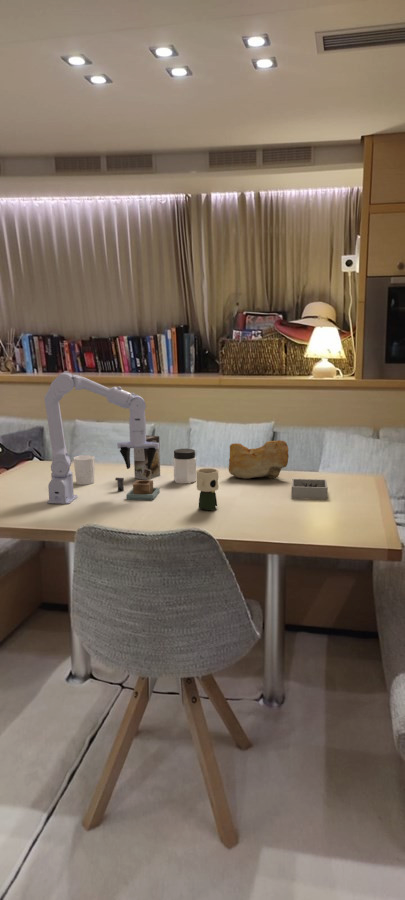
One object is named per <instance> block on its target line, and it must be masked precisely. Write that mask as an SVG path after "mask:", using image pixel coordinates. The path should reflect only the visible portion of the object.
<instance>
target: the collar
mask: <svg viewBox="0 0 405 900" xmlns="http://www.w3.org/2000/svg"><path fill="white" fill-rule="evenodd" d="M132 488H133V494H152V493H153V488H154V480H151V479H148V480H143V479H137V480H136V481H135V482H133V483H132Z"/></svg>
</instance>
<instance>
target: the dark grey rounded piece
mask: <svg viewBox="0 0 405 900" xmlns="http://www.w3.org/2000/svg"><path fill="white" fill-rule="evenodd" d="M114 481H116V482H117V492H120V493H121V492H125V491H124V490H125V489H124V488H125V486H124V485H125V484H124V477H115V480H114Z"/></svg>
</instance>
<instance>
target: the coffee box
mask: <svg viewBox="0 0 405 900" xmlns="http://www.w3.org/2000/svg"><path fill="white" fill-rule="evenodd" d="M146 442H154V443H159V444H160V436H158V435H149V434H146ZM147 450H148V449H145V448H133V460H134V461H133V462H134V463H133V465H134V466H133V467H134V479H137V480H151V479H154V478H156V477H160V476H161V459H160V458H161V457H160V456H161V455H160V451H161V450H160V447H159V449H157V450H156V452H155V455H154V457H153V461H152V466H151V469H148V457H147Z"/></svg>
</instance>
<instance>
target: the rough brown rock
mask: <svg viewBox="0 0 405 900" xmlns="http://www.w3.org/2000/svg"><path fill="white" fill-rule="evenodd" d="M289 457H290V456H289V446H288V444H287V442H286V441H285V440H269V441H266V442H265V443H264V444H263V445H261V446H259V447H256V448H248V447H247V446H245V445H243V444H242V443H231V444H230V445H229V459H228V472H229V475H231V476H234V477H235V478H239V479H251V478H263V477H267V478H269V479H272V478H276V479H277V478H279V476H280V472H281V471H282V469H283V468H286V467H287V465H289Z"/></svg>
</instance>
